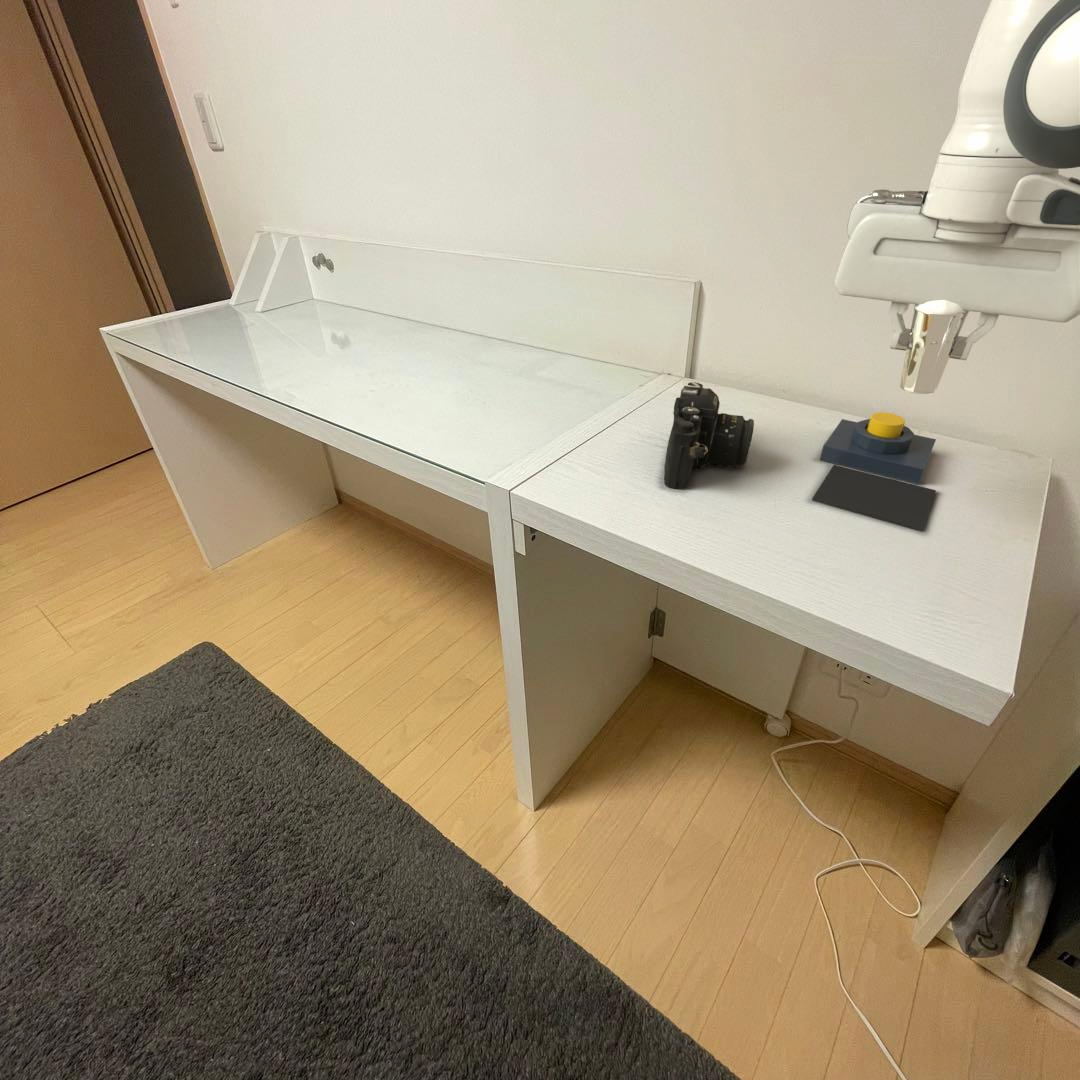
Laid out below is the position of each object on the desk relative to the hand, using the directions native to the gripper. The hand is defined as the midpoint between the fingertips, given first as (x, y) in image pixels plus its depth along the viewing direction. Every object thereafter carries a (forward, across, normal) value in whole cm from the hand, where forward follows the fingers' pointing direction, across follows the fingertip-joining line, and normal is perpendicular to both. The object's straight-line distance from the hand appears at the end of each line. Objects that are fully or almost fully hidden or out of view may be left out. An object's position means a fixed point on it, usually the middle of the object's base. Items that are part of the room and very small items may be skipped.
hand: (928, 353), depth 61 cm
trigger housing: (+19, -2, +15) cm, 24 cm away
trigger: (+15, -3, +15) cm, 22 cm away
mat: (+19, 0, +4) cm, 19 cm away
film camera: (+19, -22, +1) cm, 29 cm away
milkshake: (+4, 0, 0) cm, 4 cm away
